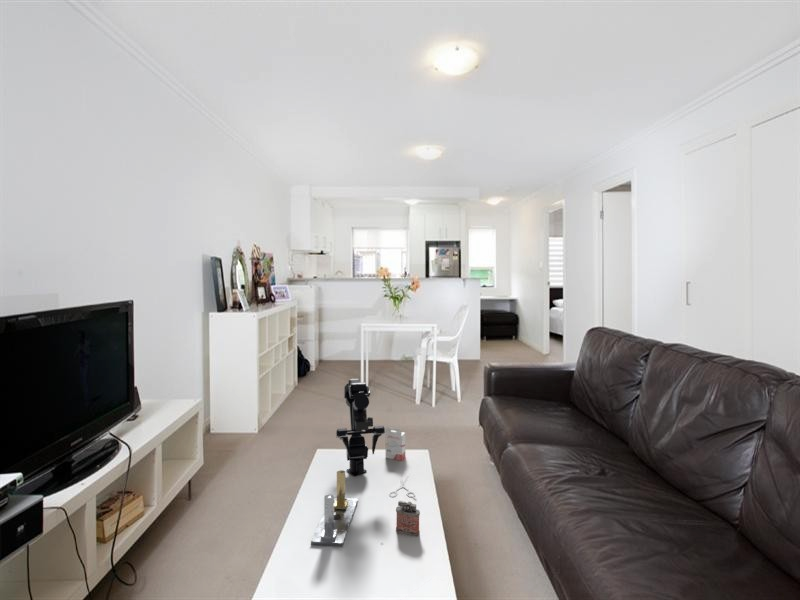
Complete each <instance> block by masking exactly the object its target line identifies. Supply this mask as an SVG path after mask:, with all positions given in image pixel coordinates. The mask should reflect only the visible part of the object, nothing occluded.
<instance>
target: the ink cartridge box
mask: <svg viewBox="0 0 800 600" xmlns="http://www.w3.org/2000/svg"><path fill="white" fill-rule="evenodd" d="M385 458H386V459H390V460H396V461H403V460H404V459H405V458H406V432H403V431H402V429H401V428H396V427H388V426H386V427H385Z"/></svg>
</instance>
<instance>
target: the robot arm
mask: <svg viewBox="0 0 800 600" xmlns="http://www.w3.org/2000/svg"><path fill="white" fill-rule="evenodd" d="M343 395H344V396H343V399H345V404H346V405H347V406H348V407H349V408H348V409H349V421H350V429H348V428H345V427H344V428H337V429H336V433H335V436H336V438H337V439H339V441H342V442H343V444H344V447H345V449H346V460H347V462H349V468H348V469H346V472H347V473H349V474H351V476H353V477H357V476H359V475H362V474H364V473H367V470H366V468H365V464H364V462H365V461H364V460H367V459H368V455H369V447H368V445H367V444H366V440H365V436H364V435H366V434H369V435H370V434H373V435H372V445H371V450H372V451H371V452H372V455H375V450H376V445H377V443H378V440H379V438H380V437H382V435H384V434H386V427H385V426H384V425H374V417H370V416H369V417H367V416H368V414H367V413H368V412H367V408H368V407H369V405H370V400H369V398H370V396H371V390H370V387H369V385H368V384H367V383H366V382H363V381H362V382H361V380H360V378H350V379H348V382H347V384H345V386H344V389H343ZM370 427H372V428H370ZM349 436H350V438H349Z"/></svg>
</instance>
